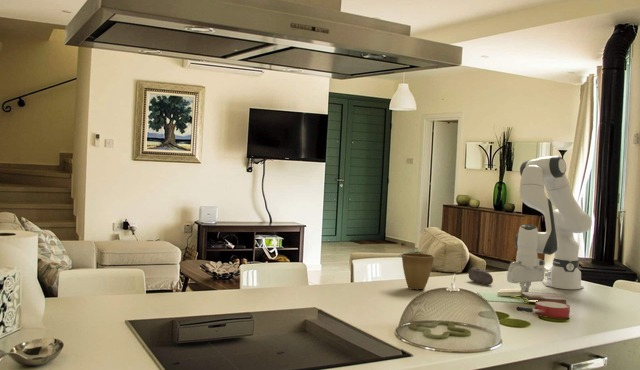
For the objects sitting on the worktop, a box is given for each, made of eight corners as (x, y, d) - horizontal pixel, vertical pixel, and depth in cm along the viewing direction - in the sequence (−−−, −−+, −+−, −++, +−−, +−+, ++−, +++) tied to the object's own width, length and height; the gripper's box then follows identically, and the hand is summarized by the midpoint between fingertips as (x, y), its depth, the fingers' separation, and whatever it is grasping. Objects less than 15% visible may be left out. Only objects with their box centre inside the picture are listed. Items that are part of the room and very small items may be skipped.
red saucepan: (540, 328, 226) (541, 311, 226) (507, 321, 235) (508, 304, 235) (574, 316, 249) (575, 300, 249) (542, 309, 258) (543, 294, 258)
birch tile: (499, 293, 286) (499, 289, 286) (522, 292, 282) (521, 288, 282) (497, 296, 281) (497, 292, 280) (520, 295, 277) (520, 291, 277)
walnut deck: (519, 295, 285) (519, 291, 285) (554, 297, 285) (555, 293, 285) (529, 302, 271) (529, 297, 271) (566, 304, 271) (566, 299, 271)
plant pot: (438, 289, 291) (440, 255, 290) (421, 293, 280) (422, 258, 279) (411, 284, 301) (413, 251, 300) (393, 288, 290) (395, 253, 289)
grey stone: (495, 286, 308) (496, 272, 308) (487, 286, 306) (488, 272, 305) (475, 280, 321) (475, 267, 321) (467, 281, 319) (467, 267, 319)
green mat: (477, 292, 288) (477, 292, 288) (517, 294, 287) (517, 294, 287) (486, 301, 270) (486, 300, 270) (529, 303, 269) (529, 302, 269)
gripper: (515, 263, 270) (513, 294, 270) (547, 261, 280) (545, 292, 280) (504, 260, 275) (502, 291, 275) (536, 259, 285) (534, 289, 286)
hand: (524, 291), depth 278 cm, fingers closed
